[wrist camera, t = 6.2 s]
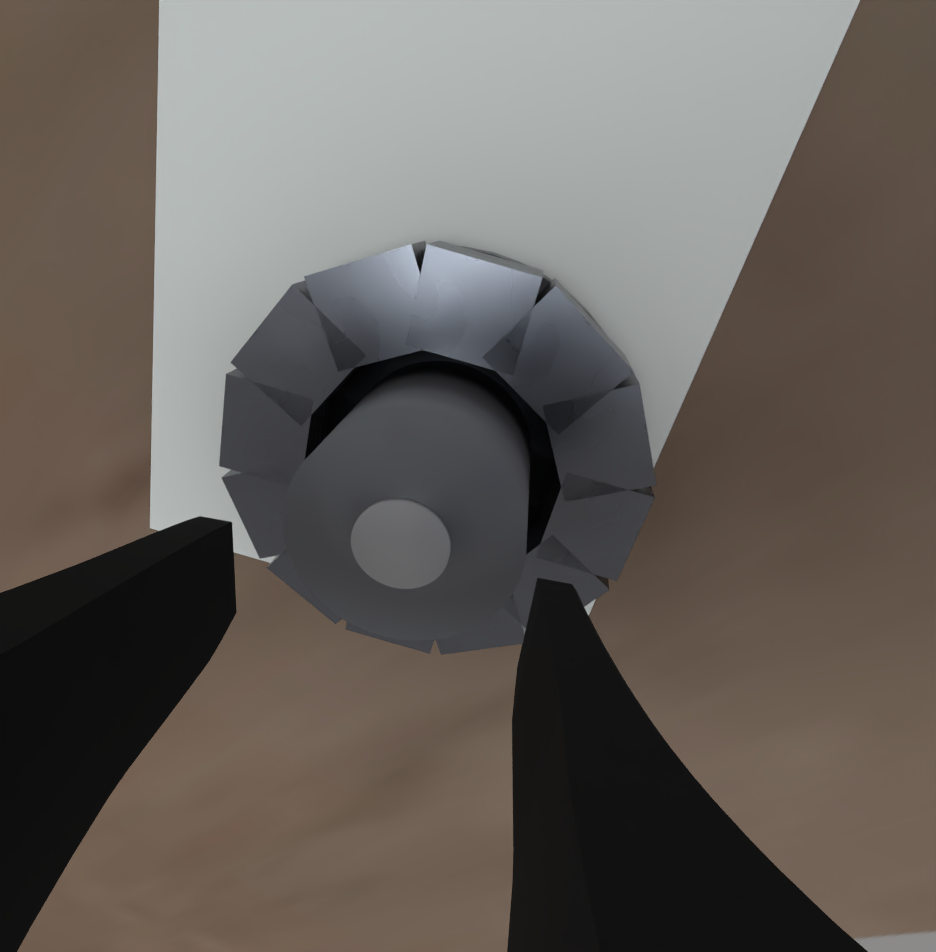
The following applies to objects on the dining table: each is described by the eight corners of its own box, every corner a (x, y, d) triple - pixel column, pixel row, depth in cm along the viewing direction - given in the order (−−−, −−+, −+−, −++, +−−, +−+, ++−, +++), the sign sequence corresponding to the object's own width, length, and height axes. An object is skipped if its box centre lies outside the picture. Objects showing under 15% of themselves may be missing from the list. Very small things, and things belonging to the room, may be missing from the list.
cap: (540, 369, 15) (539, 442, 10) (521, 536, 17) (514, 660, 12) (350, 352, 15) (267, 415, 11) (355, 518, 18) (287, 631, 13)
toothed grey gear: (701, 311, 15) (730, 331, 13) (563, 635, 20) (566, 693, 17) (287, 193, 15) (240, 190, 13) (249, 544, 20) (209, 589, 17)
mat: (1034, -413, 10) (1052, -436, 10) (572, 642, 20) (573, 650, 20) (185, -653, 10) (172, -684, 10) (157, 522, 20) (149, 527, 20)
